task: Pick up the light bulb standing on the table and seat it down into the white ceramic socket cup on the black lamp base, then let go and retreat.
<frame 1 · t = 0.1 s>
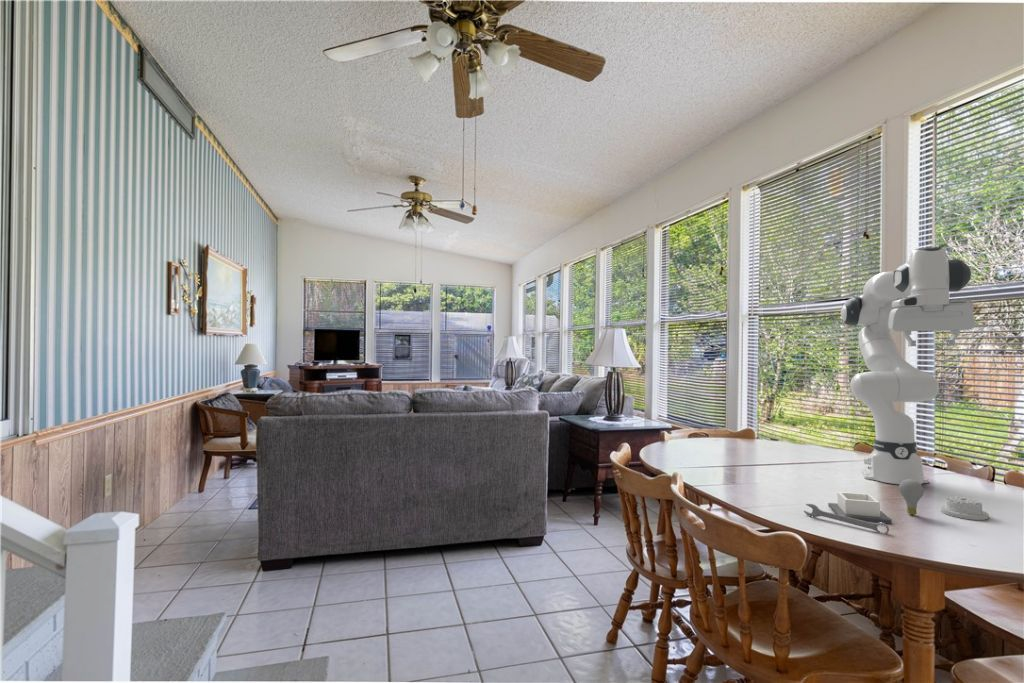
hand: (931, 346, 147), 48 cm above the table, tool pointing down, fingers open, 8 cm apart
lamp base: (858, 514, 140), on the table
light bulb: (912, 515, 139), on the table
mechanical component: (964, 515, 139), on the table
combination wrench: (844, 525, 132), on the table
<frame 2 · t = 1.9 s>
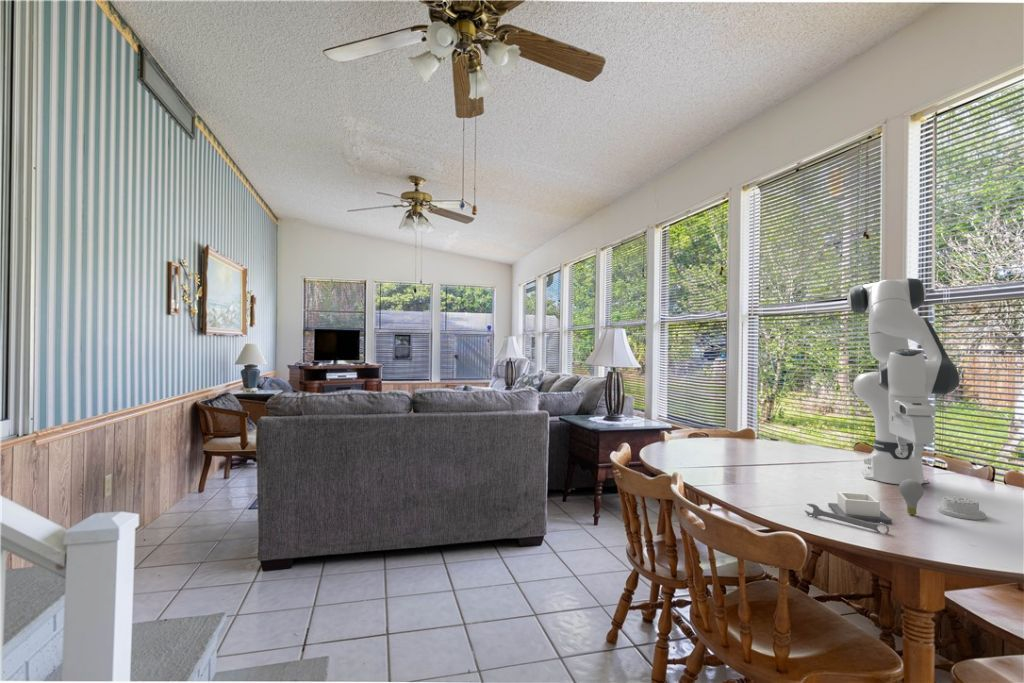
hand: (910, 454, 139), 17 cm above the table, tool pointing down, fingers open, 8 cm apart
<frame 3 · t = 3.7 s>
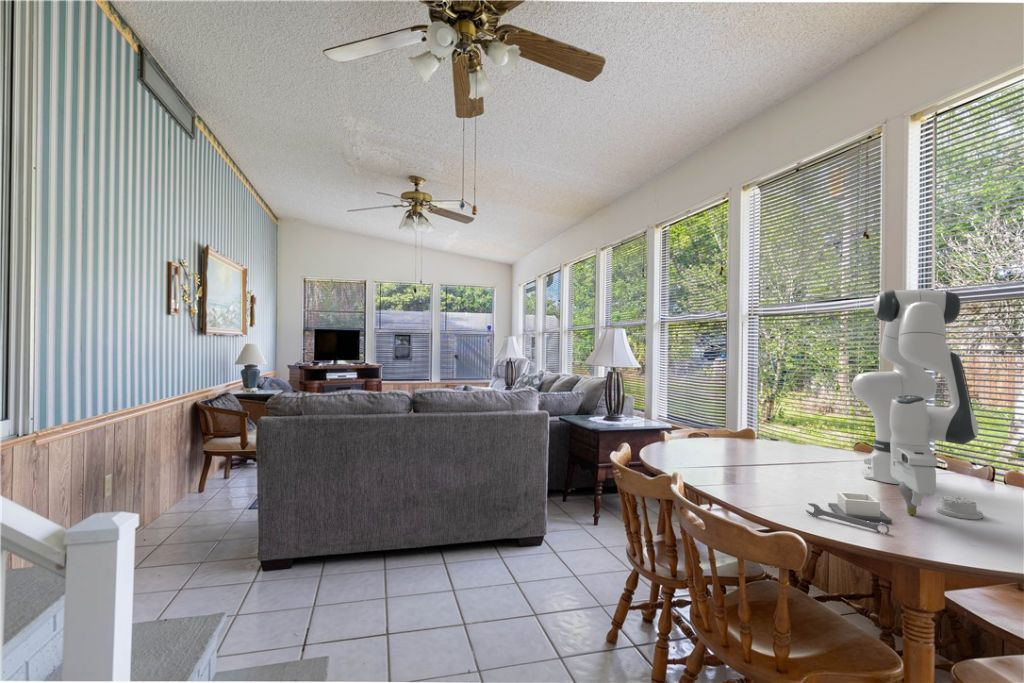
hand: (911, 502, 139), 4 cm above the table, tool pointing down, fingers closed on light bulb, 4 cm apart
light bulb: (912, 515, 139), on the table, touching gripper
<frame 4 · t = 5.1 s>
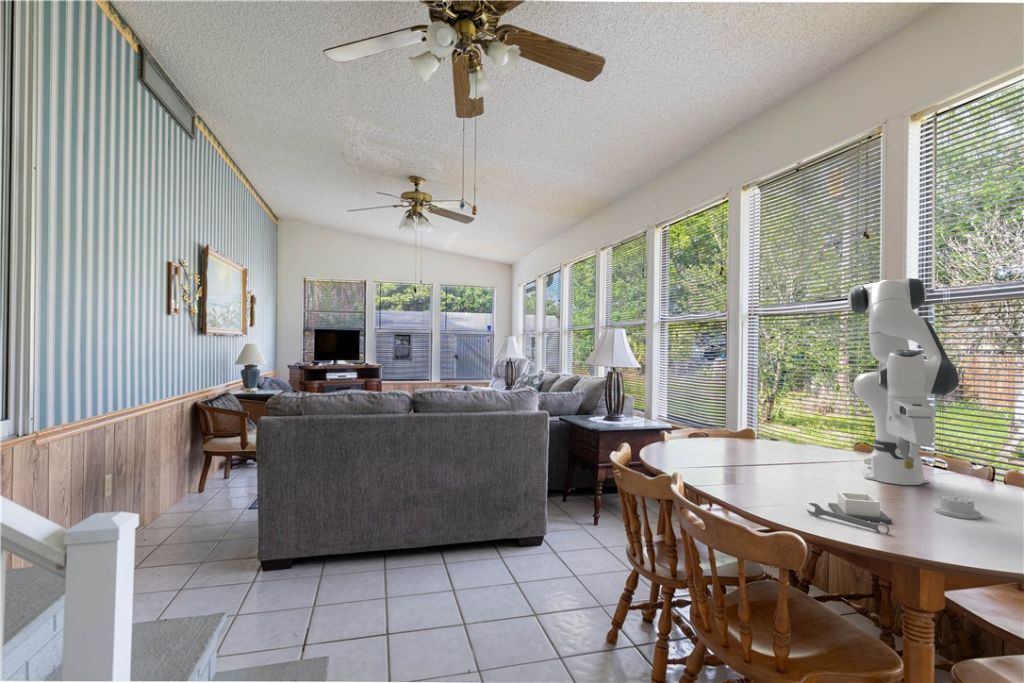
hand: (908, 455, 139), 17 cm above the table, tool pointing down, fingers closed on light bulb, 4 cm apart
light bulb: (908, 469, 139), point 13 cm above the table, touching gripper
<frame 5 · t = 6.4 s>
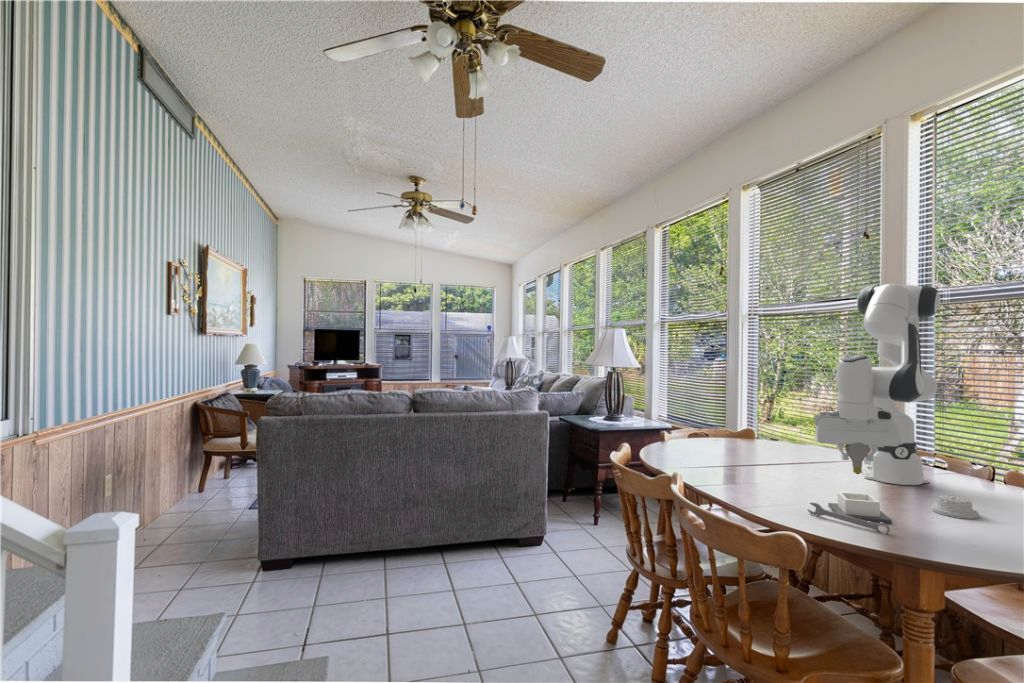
hand: (857, 460, 140), 15 cm above the table, tool pointing down, fingers closed on light bulb, 4 cm apart
light bulb: (857, 474, 140), point 11 cm above the table, touching gripper
when the fingers open (6 cm above the table, at t = 8.4 s): light bulb drops 1 cm, resting on lamp base.
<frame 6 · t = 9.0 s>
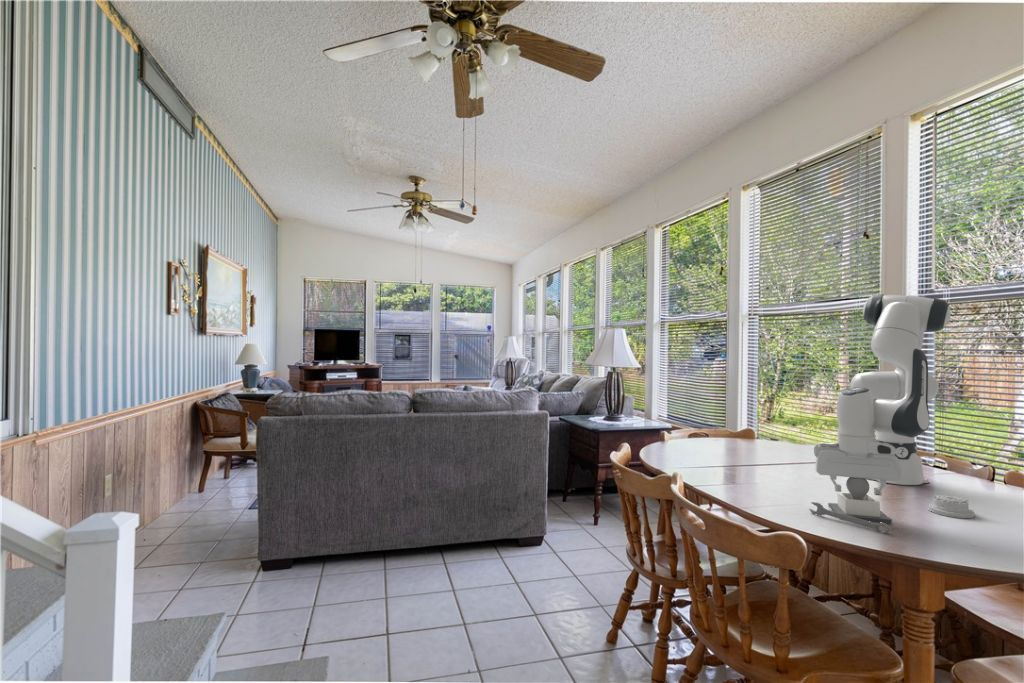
hand: (857, 493, 140), 6 cm above the table, tool pointing down, fingers open, 8 cm apart
light bulb: (858, 511, 140), point 1 cm above the table, touching lamp base
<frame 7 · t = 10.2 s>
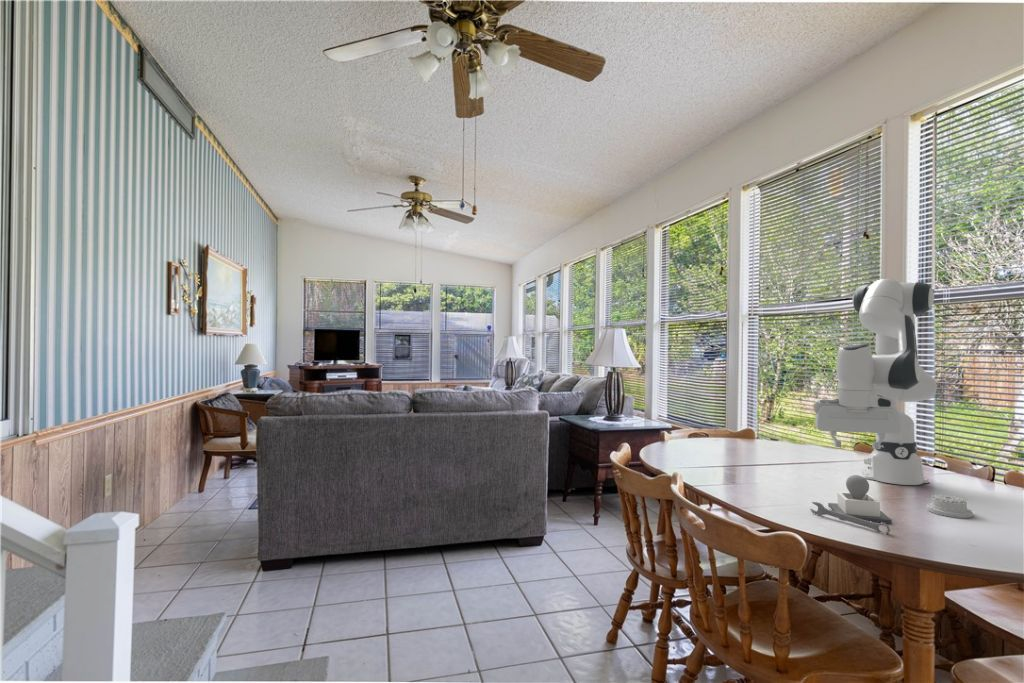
hand: (856, 447, 140), 19 cm above the table, tool pointing down, fingers open, 8 cm apart
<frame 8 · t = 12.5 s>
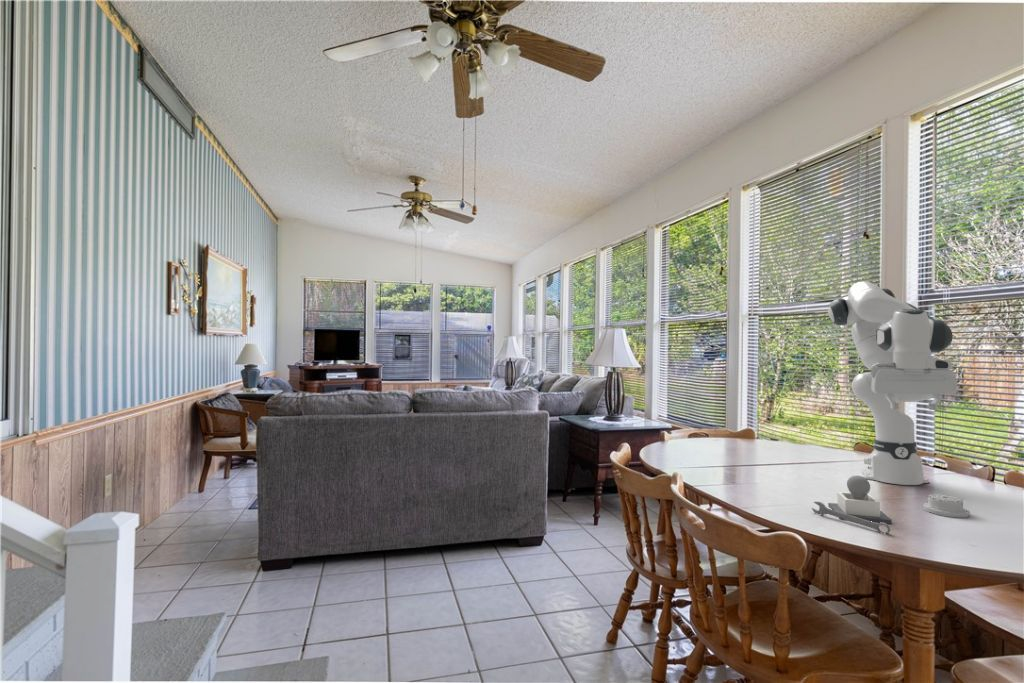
hand: (913, 409, 145), 29 cm above the table, tool pointing down, fingers open, 8 cm apart
at the end: light bulb 0.1 cm off-centre on the lamp base, point 0.8 cm above the lamp base's base; the gripper is holding nothing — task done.
